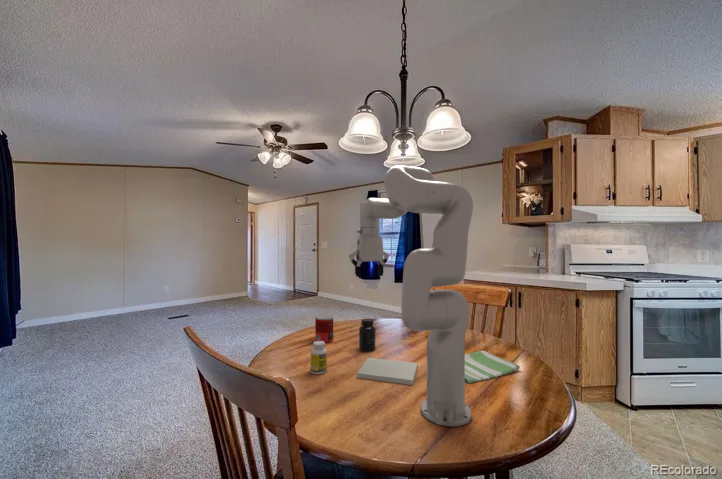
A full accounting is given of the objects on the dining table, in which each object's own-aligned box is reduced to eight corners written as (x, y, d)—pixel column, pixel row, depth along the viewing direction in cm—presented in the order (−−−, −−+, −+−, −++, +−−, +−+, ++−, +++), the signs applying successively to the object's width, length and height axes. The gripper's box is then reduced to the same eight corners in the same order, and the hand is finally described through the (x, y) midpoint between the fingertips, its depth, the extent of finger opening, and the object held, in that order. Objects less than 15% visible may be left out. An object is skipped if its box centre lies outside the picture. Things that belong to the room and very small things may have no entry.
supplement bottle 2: (374, 352, 122) (374, 322, 122) (357, 351, 123) (357, 321, 123) (376, 346, 129) (376, 318, 129) (360, 345, 130) (360, 317, 130)
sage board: (412, 385, 94) (412, 380, 94) (357, 377, 99) (357, 373, 99) (417, 367, 107) (417, 363, 107) (368, 361, 112) (368, 357, 112)
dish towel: (433, 364, 111) (433, 357, 111) (483, 355, 120) (483, 348, 120) (468, 386, 95) (468, 377, 95) (522, 373, 103) (522, 365, 103)
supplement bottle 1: (319, 376, 100) (319, 346, 100) (307, 372, 103) (307, 343, 103) (330, 370, 105) (330, 341, 105) (317, 366, 108) (317, 339, 108)
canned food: (332, 344, 132) (332, 318, 132) (314, 344, 132) (314, 318, 132) (334, 338, 140) (334, 314, 140) (316, 338, 140) (316, 314, 140)
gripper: (353, 231, 113) (353, 278, 113) (393, 232, 120) (393, 276, 120) (345, 232, 120) (345, 276, 119) (383, 233, 127) (383, 274, 127)
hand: (369, 276), depth 120 cm, fingers open, 9 cm apart
